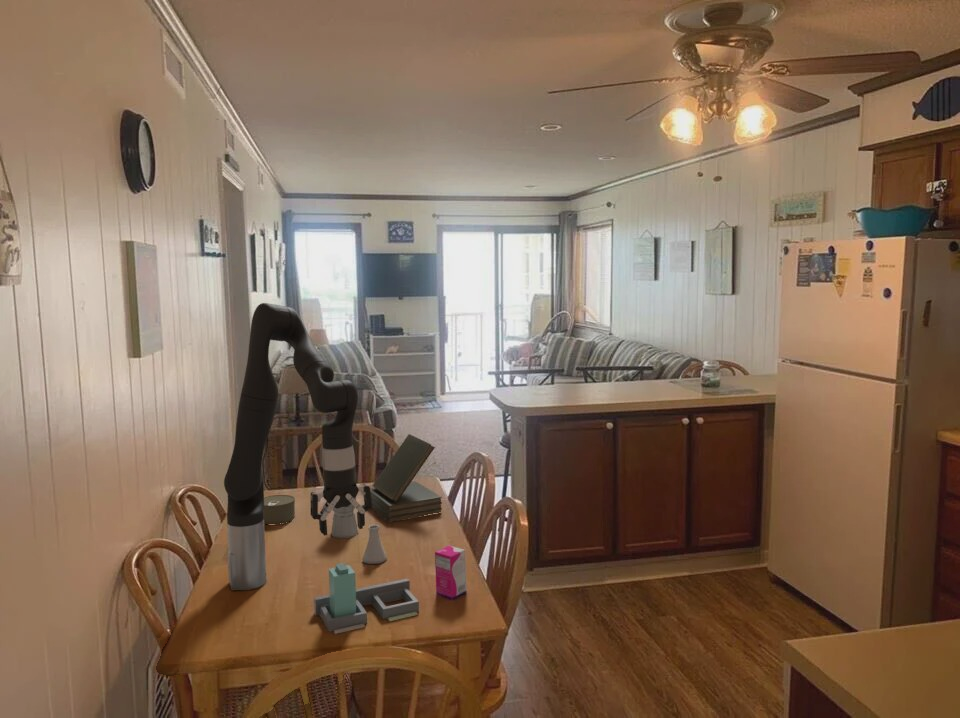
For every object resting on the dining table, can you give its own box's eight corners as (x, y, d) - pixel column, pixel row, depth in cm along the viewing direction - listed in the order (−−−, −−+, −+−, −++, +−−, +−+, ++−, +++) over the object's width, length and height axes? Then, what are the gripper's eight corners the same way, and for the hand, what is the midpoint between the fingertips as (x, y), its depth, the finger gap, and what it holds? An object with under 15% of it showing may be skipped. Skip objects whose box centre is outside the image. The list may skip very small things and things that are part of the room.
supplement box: (450, 586, 180) (449, 544, 179) (467, 592, 176) (466, 549, 175) (434, 594, 176) (434, 551, 174) (452, 600, 172) (451, 556, 171)
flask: (382, 565, 194) (381, 531, 193) (358, 564, 195) (357, 530, 194) (390, 556, 201) (389, 523, 200) (367, 554, 202) (366, 521, 201)
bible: (366, 505, 249) (364, 437, 247) (416, 496, 258) (415, 432, 256) (389, 523, 229) (387, 450, 226) (442, 514, 238) (441, 444, 236)
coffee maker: (362, 538, 215) (361, 482, 213) (334, 542, 212) (332, 485, 210) (353, 523, 229) (351, 470, 227) (326, 526, 226) (325, 473, 224)
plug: (335, 626, 159) (333, 572, 158) (330, 616, 164) (328, 564, 162) (356, 621, 162) (355, 568, 160) (350, 612, 166) (349, 561, 165)
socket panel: (326, 635, 155) (325, 619, 154) (314, 613, 166) (313, 597, 165) (425, 613, 165) (424, 597, 165) (407, 593, 176) (407, 578, 176)
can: (300, 514, 239) (300, 495, 238) (287, 526, 227) (286, 506, 226) (267, 513, 240) (267, 494, 239) (252, 525, 228) (252, 505, 227)
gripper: (311, 473, 155) (316, 542, 157) (372, 464, 161) (376, 530, 163) (305, 465, 162) (309, 531, 164) (364, 457, 168) (367, 521, 169)
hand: (342, 531), depth 163 cm, fingers open, 8 cm apart
